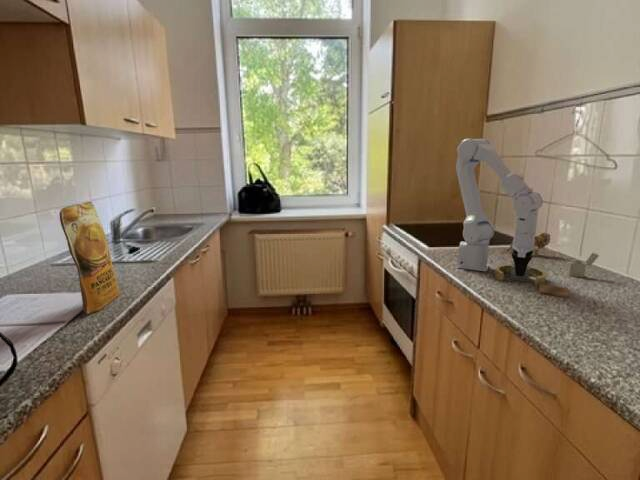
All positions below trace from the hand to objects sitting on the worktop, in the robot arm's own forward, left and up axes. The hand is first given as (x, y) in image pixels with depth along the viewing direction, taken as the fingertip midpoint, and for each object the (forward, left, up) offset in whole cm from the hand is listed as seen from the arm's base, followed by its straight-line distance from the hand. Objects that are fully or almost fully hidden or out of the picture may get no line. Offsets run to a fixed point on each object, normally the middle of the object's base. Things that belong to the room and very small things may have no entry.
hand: (520, 273), depth 116 cm
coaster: (+9, -8, -2) cm, 12 cm away
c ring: (0, +2, -2) cm, 3 cm away
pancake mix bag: (-100, -77, -2) cm, 126 cm away
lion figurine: (+1, +34, -2) cm, 34 cm away
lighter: (+17, +12, -2) cm, 21 cm away
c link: (0, 0, -2) cm, 2 cm away
